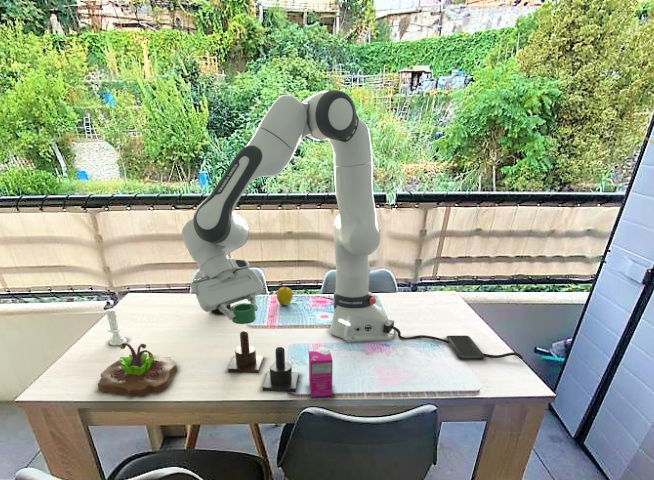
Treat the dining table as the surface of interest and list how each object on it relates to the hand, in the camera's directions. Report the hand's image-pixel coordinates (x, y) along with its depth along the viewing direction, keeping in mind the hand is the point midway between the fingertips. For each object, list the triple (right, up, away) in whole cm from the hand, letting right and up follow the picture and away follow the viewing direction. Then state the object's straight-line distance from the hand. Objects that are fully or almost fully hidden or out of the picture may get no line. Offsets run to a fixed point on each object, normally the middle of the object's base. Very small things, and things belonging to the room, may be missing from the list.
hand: (244, 314), depth 116 cm
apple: (+8, +11, +53) cm, 54 cm away
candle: (-46, -6, +23) cm, 51 cm away
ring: (0, -1, +1) cm, 2 cm away
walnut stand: (-1, -14, +9) cm, 17 cm away
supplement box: (+21, -22, -4) cm, 31 cm away
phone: (+68, -9, +19) cm, 71 cm away
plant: (-31, -18, +3) cm, 36 cm away
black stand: (+10, -19, 0) cm, 22 cm away
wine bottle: (-16, +8, +47) cm, 50 cm away
